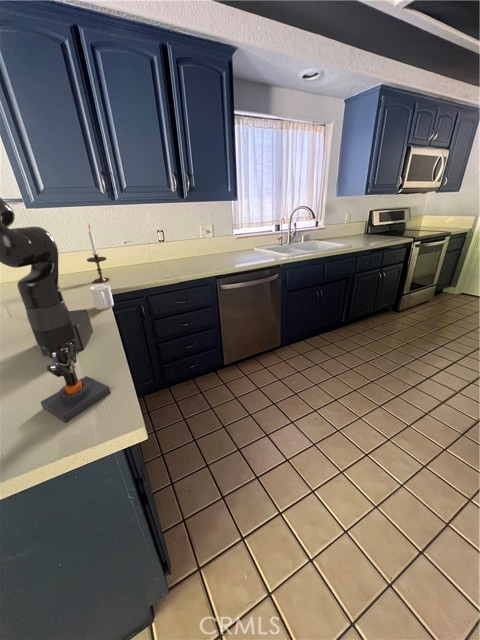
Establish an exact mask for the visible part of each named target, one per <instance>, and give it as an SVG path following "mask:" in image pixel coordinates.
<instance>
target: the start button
mask: <svg viewBox="0 0 480 640" xmlns="http://www.w3.org/2000/svg"><path fill="white" fill-rule="evenodd" d="M63 386H64V388H65V391H66V393H67V394H73V393H76V392H78V391H80V390H81V389H82V384H81V381H80V379H78V382H77V384H76V385H73V386H67V385H66V383H65V384H64V385H63Z"/></svg>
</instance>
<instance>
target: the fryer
mask: <svg viewBox="0 0 480 640" xmlns="http://www.w3.org/2000/svg"><path fill="white" fill-rule="evenodd" d="M68 311H69V314H70V317H71V320H72V324H73V327H75V329H76V332H77V335H78V338H79V342H80V345H81V349H80V350H76V352H77V351H84V350H85V349H86V348H87V345H88V343H89V340H90V339H91V337H92V335H93V333H94V329H93V326H92V322H91V318H90V314H89V311H88V308H86V309H84V308H83V309H75V310H68ZM47 355H48V354H42V356H47ZM48 356H49V355H48Z"/></svg>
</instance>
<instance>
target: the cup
mask: <svg viewBox="0 0 480 640" xmlns="http://www.w3.org/2000/svg"><path fill="white" fill-rule="evenodd" d="M89 289H90V293H91V297H92V300H93V304H94V307H95V308H96V309H97V310H99V311H101V310H102V311H103V310H108V309H111V308H113V307H114V305H115V303H114V299H113V298H114V297H113V294H112V290H111V285H110V284H107V283H104V284H103V283H100V284H95V285H93V286H91V287H90V288H89Z"/></svg>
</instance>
